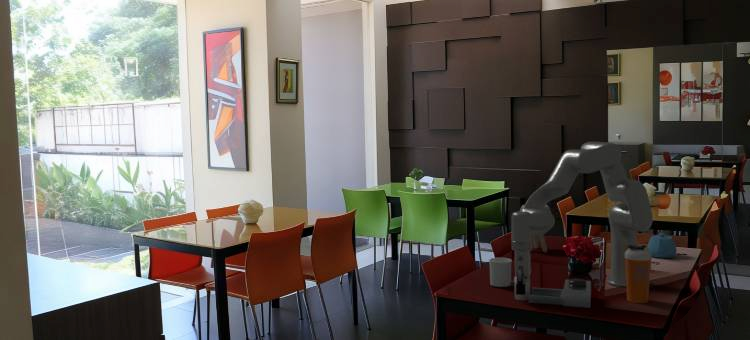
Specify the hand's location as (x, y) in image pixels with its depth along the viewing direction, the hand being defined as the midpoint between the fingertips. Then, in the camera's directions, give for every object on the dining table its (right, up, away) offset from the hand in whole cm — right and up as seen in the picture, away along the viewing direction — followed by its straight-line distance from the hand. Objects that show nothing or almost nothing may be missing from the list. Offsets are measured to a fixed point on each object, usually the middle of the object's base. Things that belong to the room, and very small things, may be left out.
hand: (522, 290), depth 242 cm
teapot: (+78, +4, +61) cm, 99 cm away
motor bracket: (+14, -3, -2) cm, 14 cm away
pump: (0, -3, 0) cm, 3 cm away
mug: (-4, -1, +20) cm, 20 cm away
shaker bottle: (+40, -3, -6) cm, 41 cm away
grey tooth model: (+24, +5, +80) cm, 84 cm away
